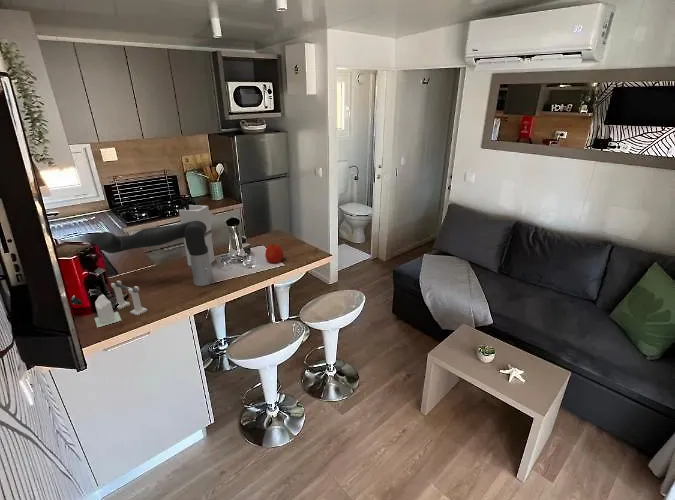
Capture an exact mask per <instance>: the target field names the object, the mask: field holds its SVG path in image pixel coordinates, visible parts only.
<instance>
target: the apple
mask: <svg viewBox="0 0 675 500" xmlns="http://www.w3.org/2000/svg"><path fill="white" fill-rule="evenodd" d="M264 256H265V260H266V261H267V262H268V263H271V264H276V263H279V262H281V261H282V260H283V257H284V250H283V248H282V247H281V245H279V244H277V243H271V244H269V245H267V247H266V248H265V255H264Z"/></svg>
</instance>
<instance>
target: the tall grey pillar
mask: <svg viewBox="0 0 675 500" xmlns="http://www.w3.org/2000/svg"><path fill="white" fill-rule="evenodd" d="M178 213H179V219H180V224H183V223H187V222H191V221H201V222H203V223H204V224H205V225H206V227H207V231H206V233H205V235H204V238H205V244H206V246H207V247H208V253H209V260H210V264H212V267H213V266H214V265H215V264H216V263H217V260H216V259H215V254H214V253H215V252H214V245H213V239H212V238H213V237H212V236H213V230H212V223H211V216H210V215H211V214H210V209H209V205H199V204H195V205H194V204H188V209H178ZM183 243H184V249H185V253H186V260H187V267H188V269H189V270H192V267H191V261H190V255H189V251H188V249H187V245H186V241H185V238H183Z"/></svg>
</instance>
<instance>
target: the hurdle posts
mask: <svg viewBox="0 0 675 500" xmlns="http://www.w3.org/2000/svg"><path fill="white" fill-rule="evenodd" d="M114 283H115V282H112V283H110V286H111V288H113V291H114V294H115V297H116V303H118V304H119V305H118V306H117V308H118V309H117V308H116V309H117V310H120V309H121V310H123V309H125V308H126V306H127V307H129V306H130V305H131V302H129V301H126V300H125V299H124V298H125V297H124V295H123V291H122V288H120V287H117V286H116V285H115V284H114ZM116 283H118V284H121V285H123V283H122V281H121V280H116ZM133 289H136V290H138V292H137V293H135V292H133V290H132V289H128V290H127V291H128V293H129V294H130V295H131V299H132V303H133V307H134V309H132V310H130V311H129V313H130V314H131V315H133V314H134V316H136V315H137V317H138V315H139V316H141V315H142V313H143V314H145V313H146V312H148V308H145V307H143V306H142V305H141V300H140V296H139V295H140V294H139V291H140V288H139V286H136V285H135V286H134V287H133ZM124 307H125V308H124ZM122 308H123V309H122ZM140 314H141V315H140Z"/></svg>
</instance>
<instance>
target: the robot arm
mask: <svg viewBox="0 0 675 500" xmlns="http://www.w3.org/2000/svg"><path fill="white" fill-rule="evenodd" d="M206 231H207V227H206V225H205V224H204V223H203V222H201V221H191V222H187V223H183V224H181V223H180V224H174V225H173V224H172V225H164V226H163V225H162V226H154V227H148V228H143V229H141V230H139V231H137V232H135V233H133V234H130V235H120V236H119V235H115V233H112V232H110V231H102V232H100V233H98V234H97V235H95V237H93V238H92V239H91V240H90V241H89V242H88V243H91V244H96V245H97V246H98V247H99V251H100V252H104V253H108V254H116V253H120V252H124V251H128V250H134V249H141V248H151V247H157V246H162V245H165V244H169V243H171V242H173V241H176V240H179V239H184V238H185V241H186V245H187V249H188V251H189V255H190V261H191V267H192V269H191V273H192V278H193V284H194V285H195V286H198V287H204V286H209V285H211V284H212V283H213V282H214V281H215V277H214V271H213V266H212V264H210V260H209V253H208V247H207V246H206V244H205V238H204V235H205V233H206ZM97 286H98V287H96V289H89V291H88V294H89V293H90V296H89V297H92V295H93V296H94V295H95V296H98V297H99V296H100V295H102V294H103V293H102V291H101V287H100V286H99V285H97ZM70 302H71V305H77V306H82V305H83V302H82V300H81V299H77V298H76V297H75V295H73V296H72V298H71V300H70Z"/></svg>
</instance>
